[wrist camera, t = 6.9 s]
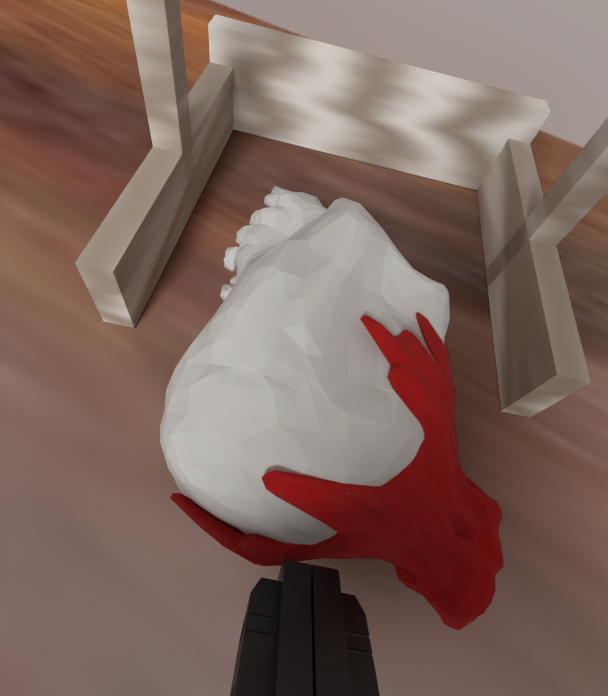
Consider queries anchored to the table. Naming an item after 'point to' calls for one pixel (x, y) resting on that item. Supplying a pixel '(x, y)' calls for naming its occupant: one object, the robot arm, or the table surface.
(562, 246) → the table surface
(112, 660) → the table surface
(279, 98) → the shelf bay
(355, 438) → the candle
